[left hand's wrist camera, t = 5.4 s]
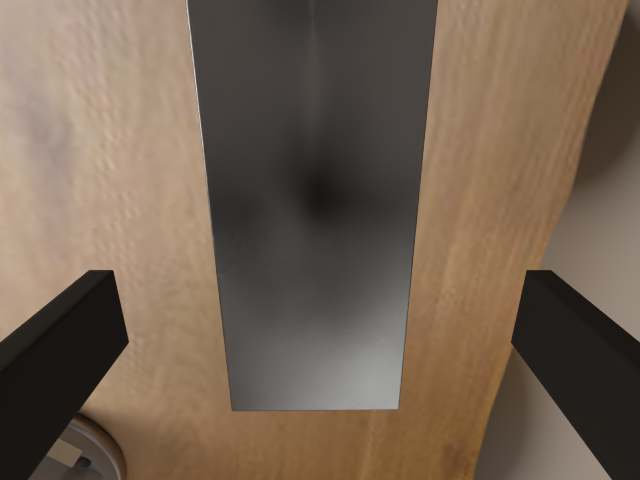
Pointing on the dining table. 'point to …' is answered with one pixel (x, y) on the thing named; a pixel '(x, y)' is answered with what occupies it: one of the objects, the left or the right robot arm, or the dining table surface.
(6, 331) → the dining table surface
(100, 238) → the dining table surface
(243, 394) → the box
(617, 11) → the dining table surface
